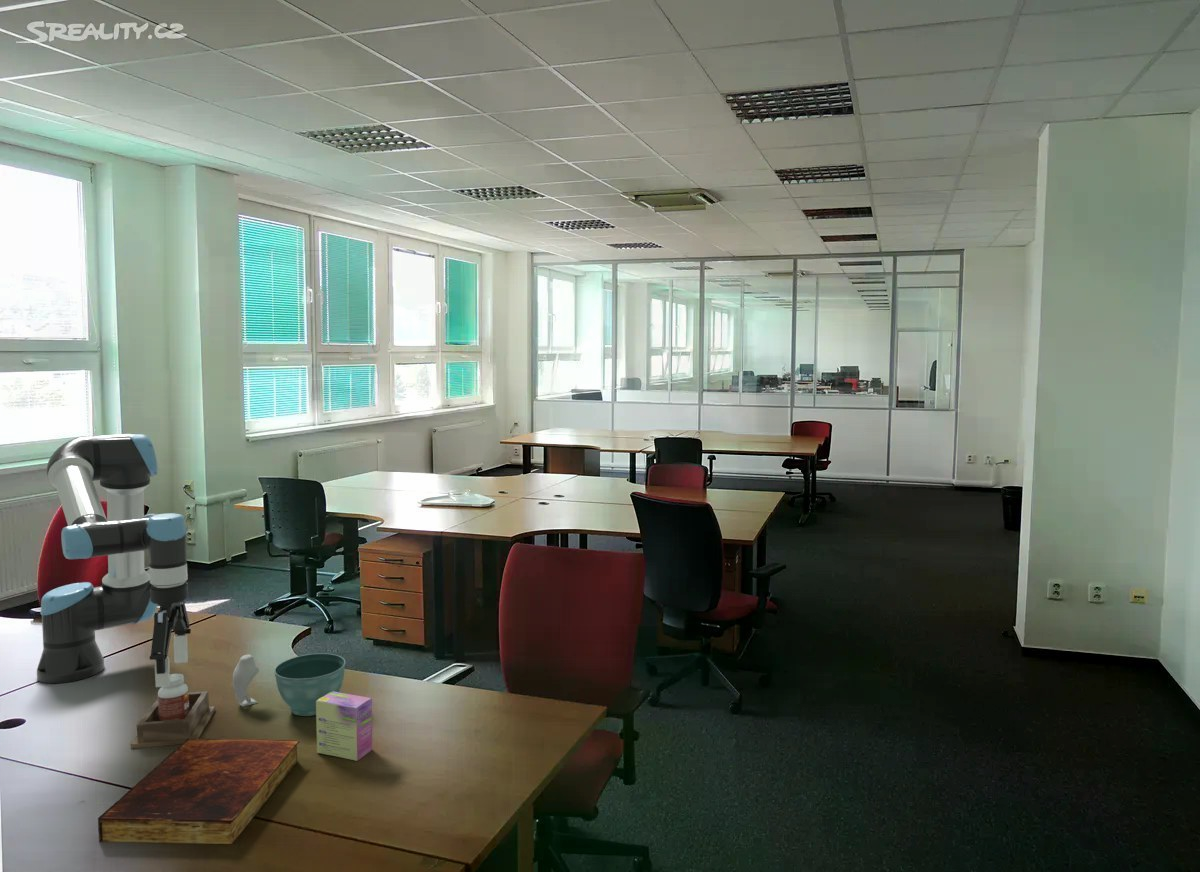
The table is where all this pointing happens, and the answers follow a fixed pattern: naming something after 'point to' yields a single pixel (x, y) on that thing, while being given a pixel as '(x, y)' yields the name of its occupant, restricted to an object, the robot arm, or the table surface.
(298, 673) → the teal bowl
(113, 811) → the book
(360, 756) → the box
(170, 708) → the pill bottle
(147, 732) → the wooden tray
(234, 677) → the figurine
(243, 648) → the table surface
